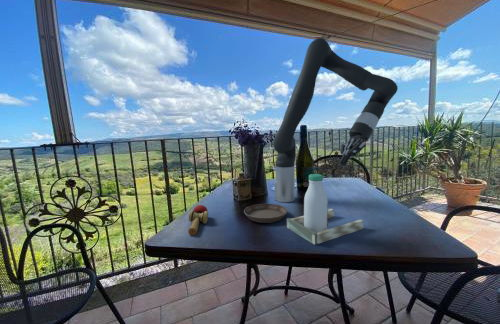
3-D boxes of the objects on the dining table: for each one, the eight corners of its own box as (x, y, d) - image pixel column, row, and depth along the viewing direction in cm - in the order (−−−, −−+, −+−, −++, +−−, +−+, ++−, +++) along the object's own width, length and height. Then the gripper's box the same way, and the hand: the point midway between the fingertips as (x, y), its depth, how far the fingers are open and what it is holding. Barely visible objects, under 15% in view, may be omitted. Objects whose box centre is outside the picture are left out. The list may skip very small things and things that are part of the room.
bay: (331, 215, 92) (331, 207, 91) (363, 228, 79) (363, 219, 79) (286, 227, 82) (286, 218, 82) (314, 244, 69) (314, 234, 69)
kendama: (206, 238, 80) (212, 213, 97) (201, 222, 78) (208, 199, 95) (185, 242, 80) (194, 216, 97) (179, 227, 78) (190, 203, 95)
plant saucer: (255, 207, 106) (255, 201, 105) (292, 212, 98) (292, 205, 97) (236, 221, 90) (236, 214, 90) (278, 228, 82) (278, 220, 82)
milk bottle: (325, 239, 73) (326, 177, 70) (301, 235, 76) (301, 176, 73) (329, 229, 80) (329, 173, 77) (306, 226, 83) (306, 172, 80)
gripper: (346, 124, 94) (325, 160, 92) (367, 117, 81) (343, 158, 79) (360, 134, 94) (339, 170, 93) (383, 129, 81) (360, 170, 80)
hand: (341, 164), depth 86 cm, fingers closed
